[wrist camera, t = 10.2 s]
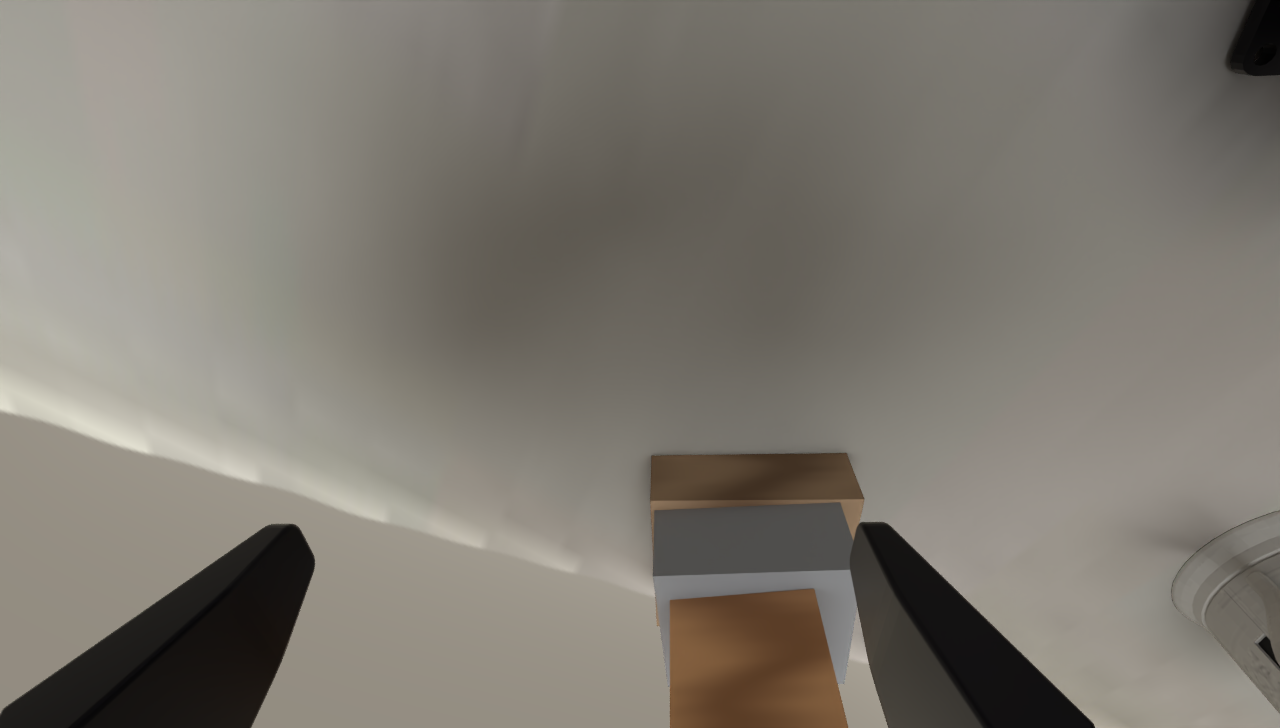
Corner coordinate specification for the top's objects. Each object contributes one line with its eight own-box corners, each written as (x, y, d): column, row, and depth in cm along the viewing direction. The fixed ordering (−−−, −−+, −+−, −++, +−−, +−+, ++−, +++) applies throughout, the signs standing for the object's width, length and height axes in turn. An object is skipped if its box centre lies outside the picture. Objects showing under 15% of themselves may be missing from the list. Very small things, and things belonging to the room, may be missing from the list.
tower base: (843, 446, 24) (864, 499, 22) (820, 570, 29) (835, 627, 26) (652, 448, 25) (650, 501, 22) (657, 570, 29) (656, 625, 26)
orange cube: (814, 588, 20) (853, 748, 16) (817, 670, 22) (851, 826, 18) (669, 599, 21) (670, 756, 16) (689, 678, 23) (693, 829, 19)
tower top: (840, 502, 22) (862, 569, 19) (826, 615, 26) (844, 683, 23) (654, 510, 22) (652, 576, 20) (667, 619, 26) (668, 686, 24)
